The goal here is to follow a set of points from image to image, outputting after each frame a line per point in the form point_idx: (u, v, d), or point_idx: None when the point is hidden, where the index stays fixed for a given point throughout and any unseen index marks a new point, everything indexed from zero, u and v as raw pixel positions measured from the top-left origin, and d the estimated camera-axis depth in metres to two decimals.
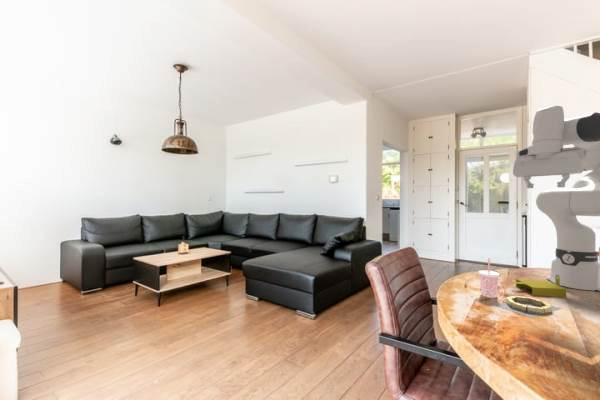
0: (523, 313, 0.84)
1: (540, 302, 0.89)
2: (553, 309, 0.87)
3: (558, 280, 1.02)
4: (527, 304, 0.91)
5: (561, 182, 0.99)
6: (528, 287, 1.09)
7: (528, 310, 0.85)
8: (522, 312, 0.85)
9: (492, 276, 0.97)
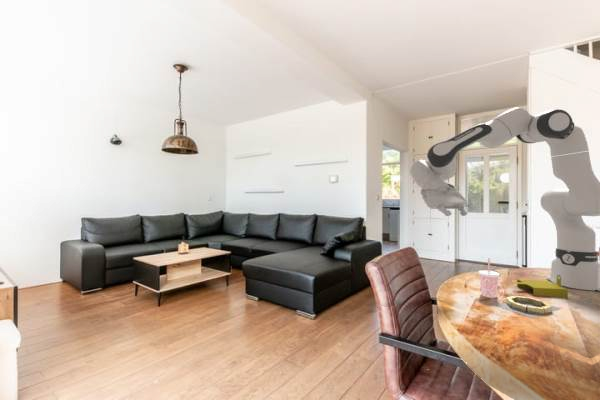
0: (523, 313, 0.84)
1: (540, 302, 0.89)
2: (553, 309, 0.87)
3: (559, 280, 1.02)
4: (527, 304, 0.91)
5: None
6: (529, 287, 1.09)
7: (528, 310, 0.85)
8: (522, 312, 0.85)
9: (492, 276, 0.97)
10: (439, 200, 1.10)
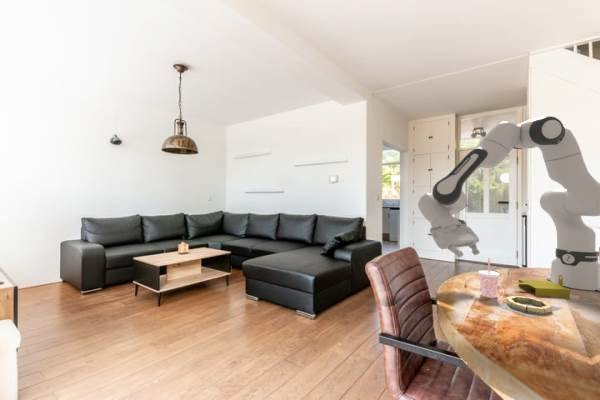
0: (523, 313, 0.84)
1: (540, 302, 0.89)
2: (553, 309, 0.87)
3: (561, 280, 1.02)
4: (527, 304, 0.91)
5: None
6: (531, 287, 1.09)
7: (528, 310, 0.85)
8: (522, 312, 0.85)
9: (492, 276, 0.97)
10: (450, 240, 1.06)
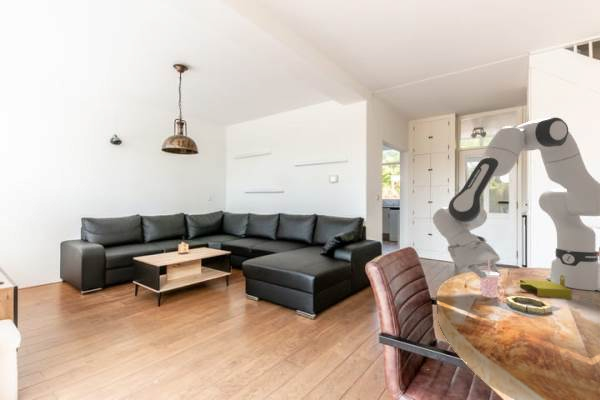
0: (523, 313, 0.84)
1: (540, 302, 0.89)
2: (553, 309, 0.87)
3: (563, 281, 1.02)
4: (527, 304, 0.91)
5: None
6: (532, 288, 1.09)
7: (528, 310, 0.85)
8: (522, 312, 0.85)
9: (492, 276, 0.97)
10: (470, 260, 0.99)
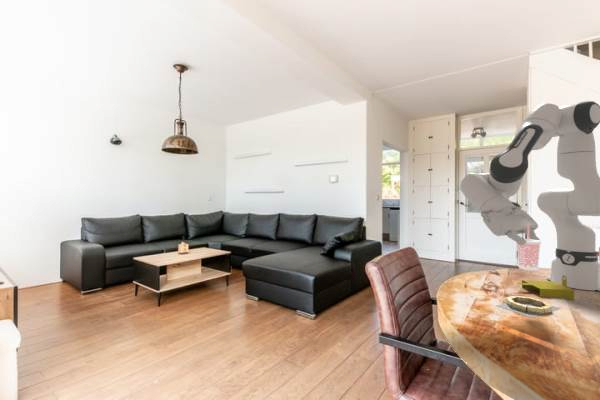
0: (523, 313, 0.84)
1: (540, 302, 0.89)
2: (553, 309, 0.87)
3: (565, 281, 1.01)
4: (527, 304, 0.91)
5: None
6: (534, 288, 1.08)
7: (528, 310, 0.85)
8: (522, 312, 0.85)
9: (533, 243, 0.86)
10: (508, 225, 0.88)
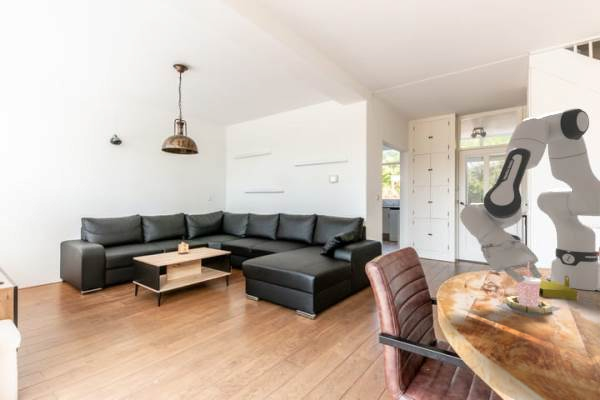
0: (523, 313, 0.84)
1: (540, 302, 0.89)
2: (553, 309, 0.87)
3: (568, 281, 1.01)
4: None
5: None
6: None
7: (528, 310, 0.85)
8: (522, 312, 0.85)
9: (533, 283, 0.86)
10: (508, 262, 0.88)
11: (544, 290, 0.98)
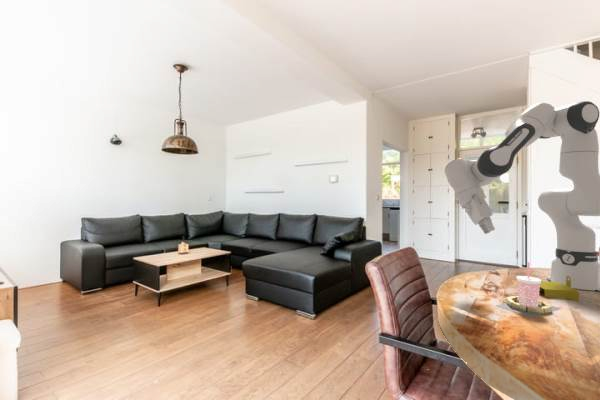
0: (523, 313, 0.84)
1: (540, 302, 0.89)
2: (553, 309, 0.87)
3: (569, 281, 1.01)
4: None
5: (487, 227, 0.99)
6: None
7: (528, 310, 0.85)
8: (522, 312, 0.85)
9: (533, 283, 0.86)
10: None
11: (546, 290, 0.98)
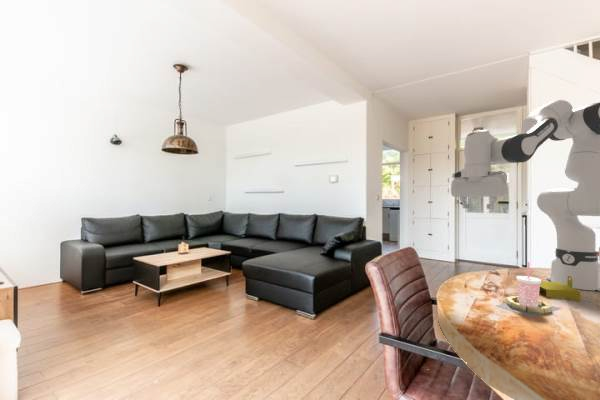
0: (523, 313, 0.84)
1: (540, 302, 0.89)
2: (553, 309, 0.87)
3: (570, 281, 1.01)
4: None
5: (489, 204, 1.04)
6: None
7: (528, 310, 0.85)
8: (522, 312, 0.85)
9: (533, 283, 0.86)
10: None
11: (547, 290, 0.98)
